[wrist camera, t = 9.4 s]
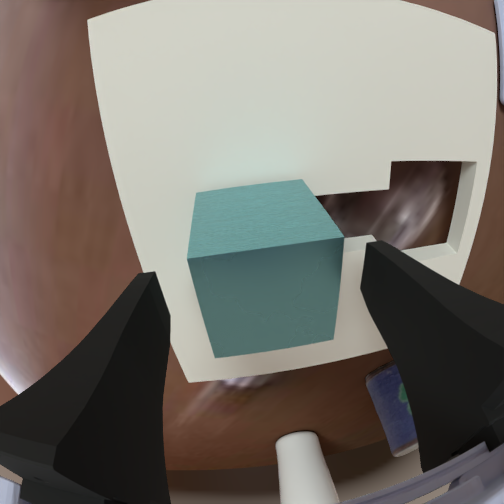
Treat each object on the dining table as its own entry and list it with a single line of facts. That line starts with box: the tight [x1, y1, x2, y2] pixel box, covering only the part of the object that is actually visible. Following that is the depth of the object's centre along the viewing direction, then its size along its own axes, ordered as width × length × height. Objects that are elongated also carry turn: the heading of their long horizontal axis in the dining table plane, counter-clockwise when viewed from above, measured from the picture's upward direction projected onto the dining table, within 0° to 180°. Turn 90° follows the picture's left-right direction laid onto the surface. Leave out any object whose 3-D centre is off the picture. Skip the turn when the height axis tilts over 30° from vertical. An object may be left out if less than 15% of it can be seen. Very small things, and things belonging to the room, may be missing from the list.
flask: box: [365, 361, 419, 457], centre depth 21 cm, size 9×3×11 cm, turn 110°
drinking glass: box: [276, 431, 340, 504], centre depth 26 cm, size 7×7×15 cm
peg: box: [187, 179, 344, 358], centre depth 12 cm, size 4×4×8 cm
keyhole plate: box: [87, 0, 497, 382], centre depth 14 cm, size 18×20×3 cm
